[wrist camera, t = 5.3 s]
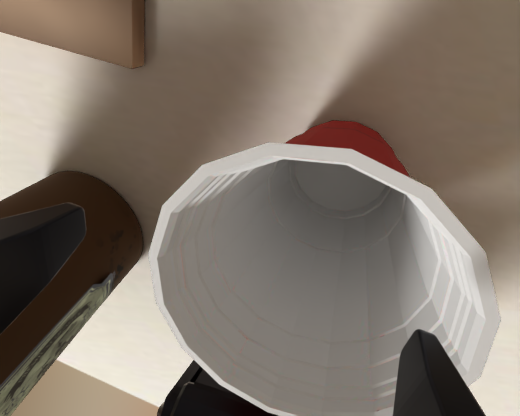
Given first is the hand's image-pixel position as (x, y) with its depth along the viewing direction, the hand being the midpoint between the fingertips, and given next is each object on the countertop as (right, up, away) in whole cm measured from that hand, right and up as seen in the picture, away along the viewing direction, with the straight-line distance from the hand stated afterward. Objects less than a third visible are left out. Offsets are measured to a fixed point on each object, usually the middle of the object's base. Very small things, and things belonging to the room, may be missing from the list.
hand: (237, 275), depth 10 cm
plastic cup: (+5, +4, +12) cm, 14 cm away
